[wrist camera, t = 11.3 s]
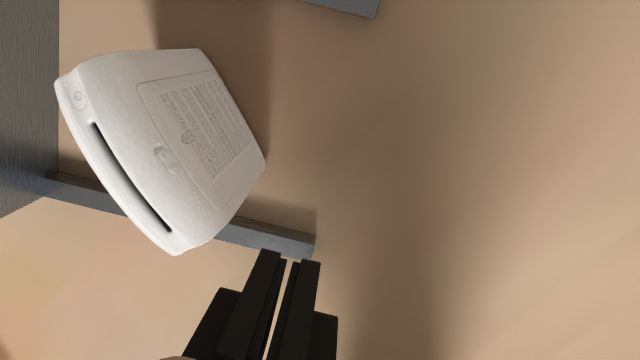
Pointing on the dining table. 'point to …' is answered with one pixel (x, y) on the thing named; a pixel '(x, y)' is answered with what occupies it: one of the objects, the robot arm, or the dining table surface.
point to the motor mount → (42, 126)
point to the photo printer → (163, 141)
